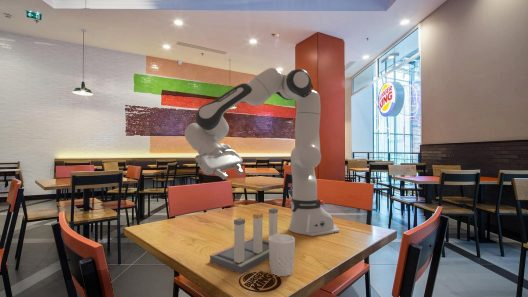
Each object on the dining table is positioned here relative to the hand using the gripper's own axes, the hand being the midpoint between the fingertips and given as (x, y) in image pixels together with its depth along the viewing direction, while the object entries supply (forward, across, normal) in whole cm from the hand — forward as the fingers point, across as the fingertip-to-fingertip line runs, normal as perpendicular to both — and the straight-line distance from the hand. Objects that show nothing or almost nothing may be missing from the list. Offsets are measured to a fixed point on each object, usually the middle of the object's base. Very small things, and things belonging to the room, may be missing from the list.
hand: (234, 175), depth 101 cm
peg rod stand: (+25, -9, +12) cm, 30 cm away
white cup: (+37, -12, +3) cm, 39 cm away
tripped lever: (+27, -9, +8) cm, 29 cm away
